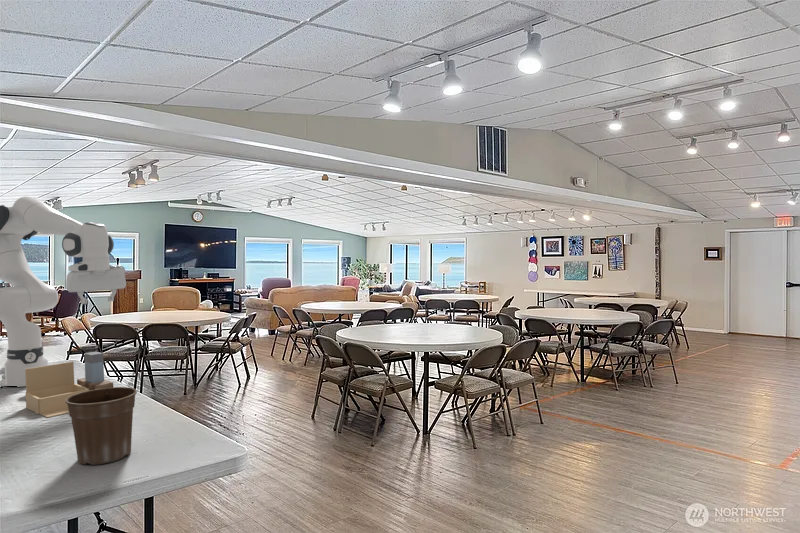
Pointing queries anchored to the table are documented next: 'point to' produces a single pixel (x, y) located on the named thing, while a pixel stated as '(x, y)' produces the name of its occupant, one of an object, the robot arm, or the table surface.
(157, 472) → the table surface
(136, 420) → the table surface
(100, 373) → the blue-grey rectangular block
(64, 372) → the light wooden open box
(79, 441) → the plant pot
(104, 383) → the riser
